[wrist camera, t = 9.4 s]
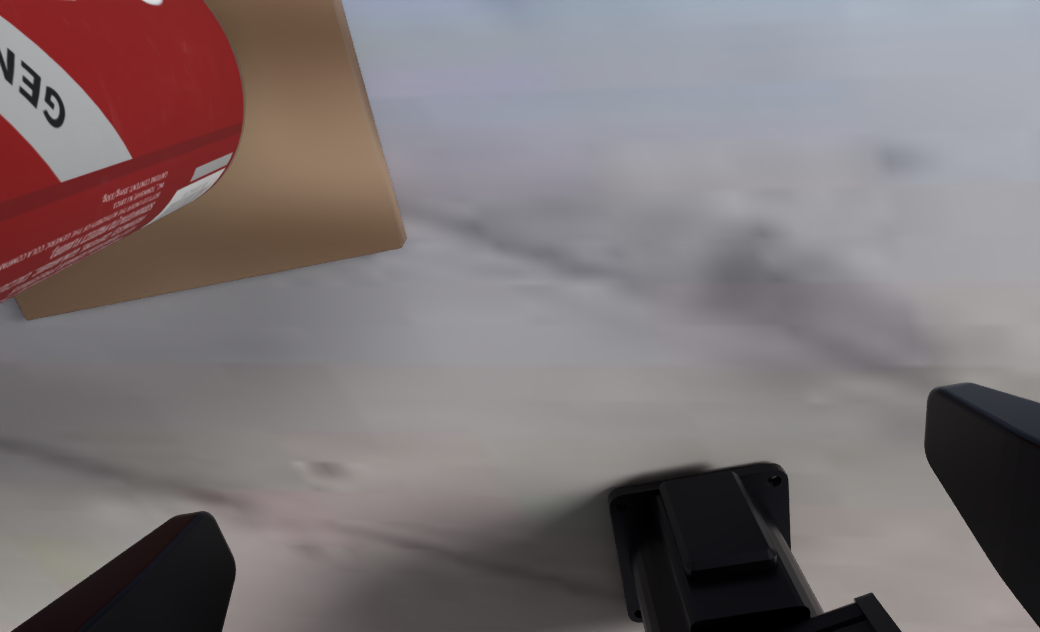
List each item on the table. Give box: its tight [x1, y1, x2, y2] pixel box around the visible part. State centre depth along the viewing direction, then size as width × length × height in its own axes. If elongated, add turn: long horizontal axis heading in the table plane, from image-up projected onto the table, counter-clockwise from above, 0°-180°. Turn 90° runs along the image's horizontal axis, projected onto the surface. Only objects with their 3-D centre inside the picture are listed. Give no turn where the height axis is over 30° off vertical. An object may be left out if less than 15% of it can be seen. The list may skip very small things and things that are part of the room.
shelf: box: [14, 0, 406, 320], centre depth 16 cm, size 14×12×4 cm
